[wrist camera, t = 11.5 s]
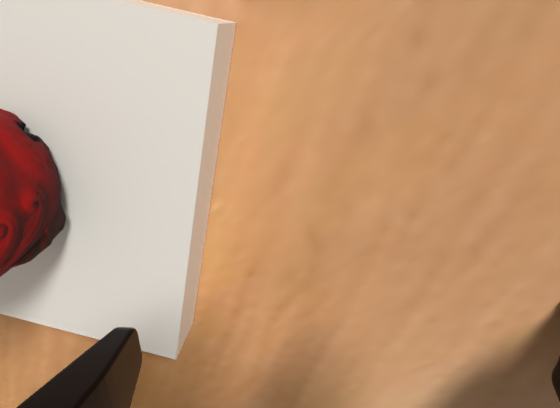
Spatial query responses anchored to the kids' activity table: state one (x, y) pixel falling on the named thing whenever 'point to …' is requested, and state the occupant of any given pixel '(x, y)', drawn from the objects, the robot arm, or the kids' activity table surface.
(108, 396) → the robot arm
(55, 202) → the red bumpy oval lump
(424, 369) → the kids' activity table surface
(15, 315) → the shelf board
